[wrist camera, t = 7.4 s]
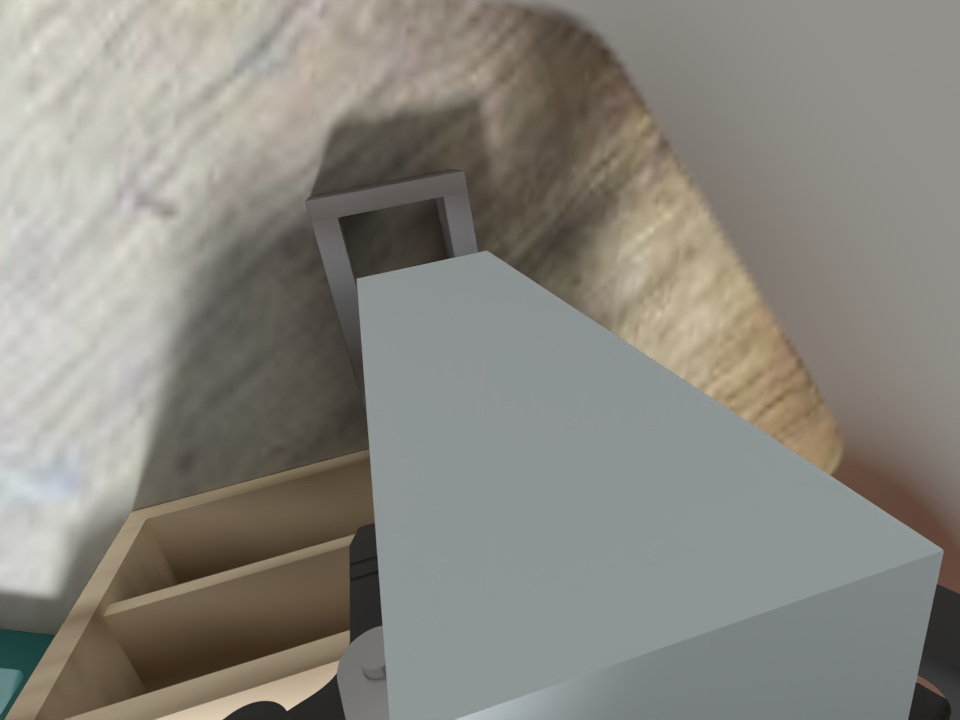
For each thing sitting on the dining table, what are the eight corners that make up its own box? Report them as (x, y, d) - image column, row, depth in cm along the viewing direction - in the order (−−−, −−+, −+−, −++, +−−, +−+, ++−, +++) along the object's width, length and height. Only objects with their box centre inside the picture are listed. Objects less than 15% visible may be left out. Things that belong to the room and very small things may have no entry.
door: (356, 278, 13) (392, 741, 3) (514, 244, 13) (1042, 515, 3) (442, 607, 17) (586, 1289, 7) (560, 569, 17) (858, 1144, 7)
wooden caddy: (-1, 256, 21) (-392, 366, 10) (461, 167, 23) (562, 176, 12) (207, 659, 29) (123, 958, 18) (529, 559, 32) (623, 768, 21)
